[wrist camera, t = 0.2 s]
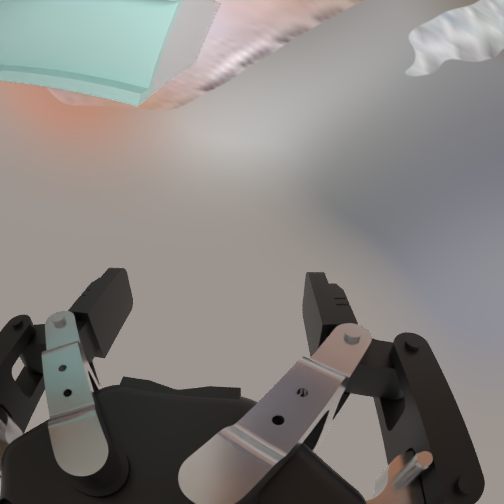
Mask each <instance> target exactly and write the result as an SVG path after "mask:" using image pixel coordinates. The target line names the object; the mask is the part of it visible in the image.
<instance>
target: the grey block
mask: <svg viewBox="0 0 504 504" xmlns="http://www.w3.org/2000/svg"><path fill="white" fill-rule="evenodd" d="M220 5H221V3H218V2H216V1H213V0H184V1H183V3H182V5H181V8H180V10H179V12H178V15H177V17H176V20H175V22H174V25H173V27H172V30H171V33H170V35H169V38H168V41H167V44H166V46H165V49H164V52H163V55H162V58H161V61H160V64H159V67H158V70H157V73H156V77H155V80H154V83H153V87H152V90H151V94H150V96H151V95H153V94H154V93H155V92H156V91H158V90H159V89H160V88H161V87H163V86H164V85H165V84H167V83H168V82H169V81H171V80H172V79H173V78H175V77H176V76H178V75H179V74H180V73H182V72H183V71H184V70H186V69H187V68H189V67H190V66H192V65H193V64H195V63H196V60H197V58H198V55H199V53H200V50H201V48H202V45H203V43H204V41H205V38H206V36H207V33H208V31H209V29H210V27H211V24H212V22H213V20H214V18H215V15H216V13H217V11H218V9H219V7H220Z"/></svg>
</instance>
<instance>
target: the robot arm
mask: <svg viewBox="0 0 504 504" xmlns="http://www.w3.org/2000/svg"><path fill="white" fill-rule="evenodd" d="M132 305H133V298H132V293H131V289H130V285H129V280H128V275H127V272H126V270H125V269H124V268H108V269H107V271H106V272H105V273H104V274H103V275H102V276H101V278H98V279H97V280H95V281H94V282H92V283H91V284H90V285H89V286H88V287H87V289H86V291H84V292H83V293H82V295H81V296H80V297H79V298H78V299H77V300H76V302H75V303H74V304H73V305H72V307H71V308H70V309H69V310H68V311H60V312H56V313H54V314H52V315H51V316H50V317H49V318H48V319H47V320H46V322H45V324H40V325H33V323H32V321H31V319H30V317H29V316H28V315H19V316H16V317H14V318H12V319H11V320H10V321H9V322H8V323H7V324H6V325H5V327H4V328H3V329H2V330H1V332H0V478H1V495H0V504H475V503H476V502H477V501H478V500H479V498H480V497H481V495H482V493H483V490H484V485H485V482H484V476H483V473H482V470H481V467H480V464H479V461H478V458H477V455H476V452H475V449H474V446H473V443H472V441H471V438H470V435H469V433H468V430H467V428H466V425H465V422H464V420H463V418H462V415H461V413H460V410H459V408H458V406H457V403H456V401H455V399H454V396H453V394H452V392H451V390H450V387H449V385H448V383H447V381H446V379H445V377H444V375H443V373H442V370H441V368H440V366H439V364H438V362H437V360H436V358H435V356H434V354H433V352H432V350H431V348H430V346H429V344H428V343H427V341H426V340H425V339H424V338H423V337H421V336H419V335H417V334H414V333H401V334H399V335H398V336H396V338H395V340H394V342H393V343H391V342H385V341H379V340H375V339H372V337H371V334H370V332H369V331H368V330H367V329H366V328H364V327H363V326H360V325H358V323H357V321H356V318H355V316H354V314H353V311H352V309H351V306H350V305H349V302H348V300H347V297H346V295H345V293H344V290H343V289H342V288H340V287H339V286H338V285H337V284H329V283H328V281H327V278H326V276H325V273H324V272H307V273H306V279H305V289H304V297H303V319H304V324H305V330H306V335H307V340H308V345H309V351H310V356H311V358H310V359H308V358H306V357H302V358H301V359H299V361H297V362H296V364H295V365H294V366H293V367H292V368H291V369H290V370H289V371H288V372H287V373H286V374H285V375H284V376H283V377H282V378H281V380H280V381H279V382H278V383H277V384H276V385H275V386H274V387H273V388H272V389H271V390H270V391H269V392H268V393H267V394H266V395H265V396H264V397H263V398H262V399H261V400H260V401H259V402H255V401H253V400H251V399H248V398H244V397H241V388H231V387H212V386H209V387H201V388H192V389H183V390H176V389H172V388H169V387H166V386H164V385H161V384H158V383H155V382H152V381H149V380H143V379H136V378H130V377H123V378H122V381H121V383H120V385H113V386H109V387H105V388H102V385H101V383H100V380H99V377H98V374H97V371H96V368H95V365H94V362H93V358H94V356H95V357H100V358H105V357H106V355H107V353H108V351H109V349H110V348H111V346H112V344H113V342H114V340H115V338H116V337H117V335H118V333H119V331H120V329H121V328H122V326H123V324H124V322H125V321H126V319H127V317H128V315H129V313H130V312H131V310H132ZM18 357H20V358H21V360H22V362H23V363H24V365H25V366H24V368H23V369H22V371H21V373H20V374H19V376H18V378H17V379H16V381H14V379H13V377H12V367H13V365H14V363H15V362H16V360H17V359H18ZM44 390H46V396H47V403H48V409H49V415H50V419H49V420H47V421H45V422H44V423H42V424H40V425H38V426H37V427H35V428H33V429H32V430H30V431H29V432H26V433H25V434H23V433H24V432H25V429H26V427H27V425H28V423H29V421H30V418H31V416H32V414H33V412H34V410H35V408H36V406H37V404H38V402H39V400H40V397H41V396H42V394H43V392H44ZM352 393H353V394H359V395H365V396H372V397H373V398H374V401H375V406H376V410H377V414H378V419H379V423H380V427H381V432H382V436H383V441H384V446H385V451H386V456H387V462H388V466H387V467H386V468H385V470H383V472H382V473H381V474H380V475H379V476H378V478H377V480H376V484H375V493H374V496H373V498H372V499H371V500H368V501H365V499H364V498H363V496H362V495H361V494H360V493H359V491H358V490H356V489H355V488H354V487H353V486H351V485H350V484H349V483H348V482H347V481H346V480H344V479H343V478H342V477H341V476H340V475H339V474H338V473H336V472H335V471H334V470H333V469H332V468H331V467H330V466H328V465H327V464H326V463H325V462H324V461H323V460H322V459H321V458H319V457H318V456H317V455H316V454H315V453H314V452H315V450H316V449H317V448H318V446H319V445H320V444H321V442H322V441H323V439H324V437H325V436H326V434H327V432H328V430H329V429H330V427H331V425H332V424H333V422H334V421H335V420H336V418H337V416H338V415H339V413H340V412H341V411H342V409H343V407H344V406H345V404H346V403H347V401H348V400H349V398H350V397H351V395H352Z"/></svg>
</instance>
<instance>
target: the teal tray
mask: <svg viewBox="0 0 504 504" xmlns="http://www.w3.org/2000/svg"><path fill="white" fill-rule="evenodd" d="M183 1H184V0H0V81H7V82H15V83H23V84H31V85H38V86H44V87H50V88H56V89H62V90H67V91H73V92H78V93H83V94H87V95H92V96H97V97H101V98H105V99H110V100H114V101H118V102H122V103H126V104H130V105H134V106H137V107H138V106H139V105H140V104H142V103H143V102H144V101H145V100H146V99H148V98H149V97H150V94H151V90H152V87H153V83H154V80H155V77H156V73H157V70H158V67H159V64H160V61H161V58H162V55H163V52H164V49H165V46H166V44H167V41H168V38H169V35H170V33H171V30H172V27H173V25H174V22H175V20H176V17H177V15H178V12H179V10H180V8H181V5H182V3H183Z"/></svg>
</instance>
